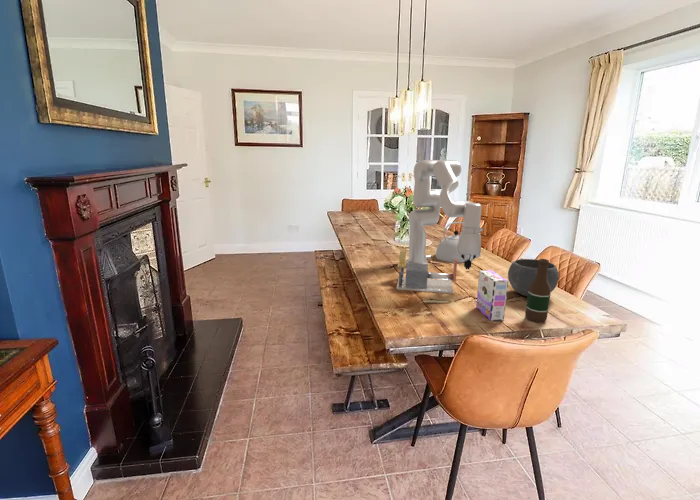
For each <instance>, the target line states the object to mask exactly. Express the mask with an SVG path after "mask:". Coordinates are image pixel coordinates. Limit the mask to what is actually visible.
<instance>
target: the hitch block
mask: <svg viewBox="0 0 700 500" xmlns="http://www.w3.org/2000/svg"><path fill="white" fill-rule="evenodd" d="M404 270H405V272H404ZM428 272H429V267H428V263H427V264H414V263H406V268H400V271H398V279H397V284H396V290H397V291H415V292H425V293H426V292H428V293H439V294H441V293H442V294H454V289H453V282H452V280H443V279H428V278H427V276H428ZM404 273H405V274H404ZM404 275H405V276H404Z"/></svg>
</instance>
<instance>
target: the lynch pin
mask: <svg viewBox="0 0 700 500" xmlns="http://www.w3.org/2000/svg"><path fill="white" fill-rule="evenodd" d="M457 268H458V263H457V259H454V262H453V267H452V273H447V272H446V273H443V272H429V271H428V276H427V279H437V280H451V282H452V284H453V283H457V282H456V281H457Z"/></svg>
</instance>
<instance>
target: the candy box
mask: <svg viewBox="0 0 700 500" xmlns="http://www.w3.org/2000/svg"><path fill="white" fill-rule="evenodd" d="M478 272H479V273H478V281H477V282H478V285H477V296H476V309H477V310H479V312H480V313H481V314H482V315H484V317H486V319H488V320H489V321H490V322H491V321H493V322H495V321H496V322H497V321H498V322H499V321H501V322H502V321H504V320H505V316H506V315H505V314H506V313H505V312H506V306H507V305H506V304H507V296H508V288H509V280H508V279H506V278H505V277H503V276H501V275H500V274H498V273H497V272H495V271H494V270H493V269H492V270H490V269H489V270H488V269H487V270H486V269H485V270H479V271H478Z"/></svg>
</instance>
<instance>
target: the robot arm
mask: <svg viewBox="0 0 700 500" xmlns="http://www.w3.org/2000/svg"><path fill="white" fill-rule="evenodd" d="M461 173H462V166H461V163H460V162H459V161H457V160H451V159H450V160H447V159H424V160H419V161H417V162H416V163H415V165H414V167H413V178H414V184H413V185H414V187H413V195H412V196H413V197H412V203H413V206H414V207H416V208H418V209H413V210H412V211H410V212H409V214H408V223H409V224H408V225H409V241H408V259H406V261H405V262H406V264H407V263H414V264H428V259H431V255H430V254H429V255H426V251H427V250H426V247H427V231H426V229H425V227H428V226H435V225H437V224H438V222H439V221H440V213H441V210H442V212H443V213H444V215H446V216H447V217H449V218H462V222H463V224H462V228H461V229H462V230H461V231H460V232H459V234H458V236H459V240H458V247H457V256H460V257H462V258H463V259H464V260H465V261H464V263H463V266H464V268H465V270H470V268H472V262H473V261H474V260H475V259H476V258H480V257H481V251H482V235H481V232H483V231H484V229H483V228H482V227H480V226H481V219H482V218H481V217H482V205H481V204H480V203H476V202H472V201H471V200H454V201H453V200H451V198H450V195H449V194H450V193H452V192H454V191H455V190H456V189H457V188H458V187H459V180H458V178H457V177H459V176H460V175H461ZM429 177H435V178H436V180H437V183H438V185H439V186H440V188H441V191H440V192H439V191H438V190H437V189H430V188H431V181H430V179H429ZM420 208H421V209H420ZM424 208H425V209H424ZM463 254H464V255H463ZM467 255H470V257H469V260H468V259H467ZM472 260H473V261H472Z"/></svg>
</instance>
